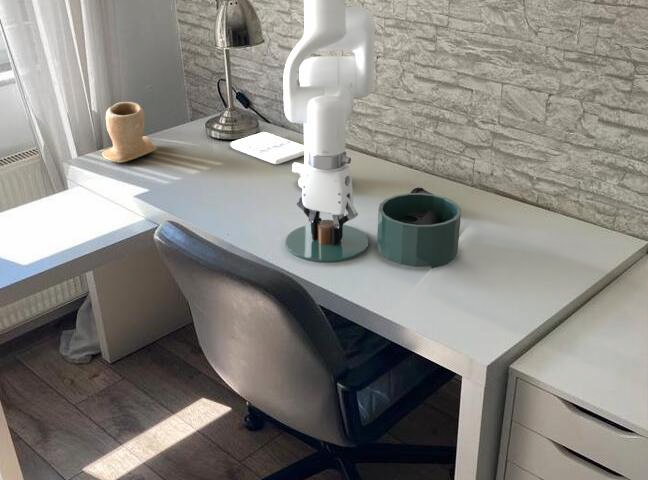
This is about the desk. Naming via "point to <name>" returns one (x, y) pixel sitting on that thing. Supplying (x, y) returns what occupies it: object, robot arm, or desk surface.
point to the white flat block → (269, 147)
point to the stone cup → (126, 132)
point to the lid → (326, 243)
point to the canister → (418, 230)
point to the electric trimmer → (420, 191)
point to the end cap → (424, 218)
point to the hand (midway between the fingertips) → (326, 239)
